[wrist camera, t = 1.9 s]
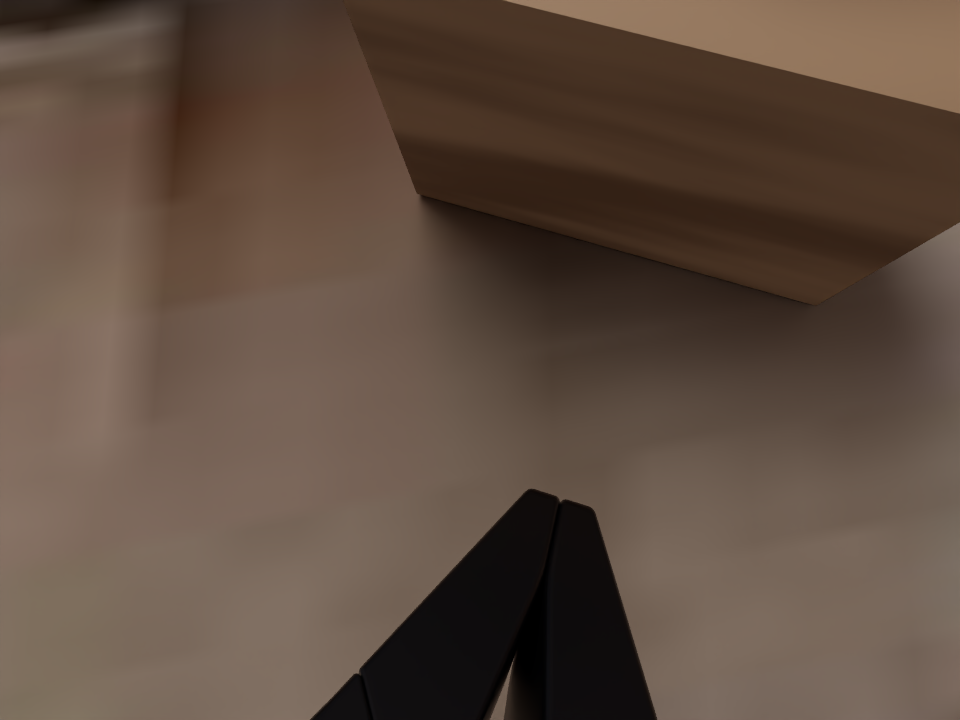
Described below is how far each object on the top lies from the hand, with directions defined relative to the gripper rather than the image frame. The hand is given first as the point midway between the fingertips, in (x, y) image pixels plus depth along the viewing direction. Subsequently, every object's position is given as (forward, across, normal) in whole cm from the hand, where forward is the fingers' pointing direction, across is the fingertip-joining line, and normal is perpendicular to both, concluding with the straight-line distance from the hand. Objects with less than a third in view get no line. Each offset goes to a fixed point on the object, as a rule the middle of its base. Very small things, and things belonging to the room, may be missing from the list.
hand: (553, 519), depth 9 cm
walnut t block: (+19, 0, -1) cm, 19 cm away
